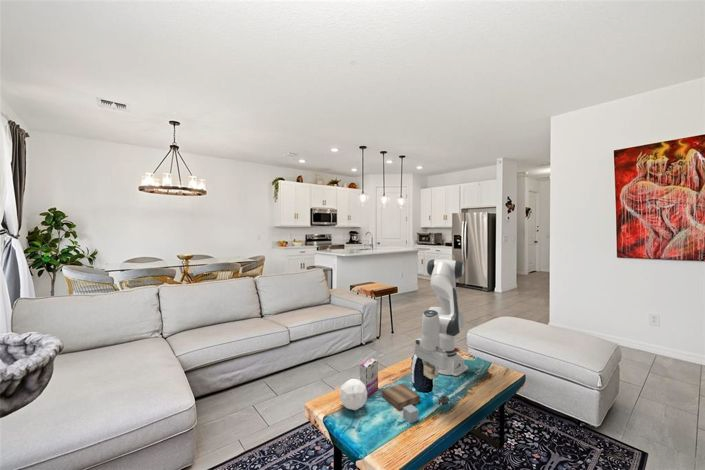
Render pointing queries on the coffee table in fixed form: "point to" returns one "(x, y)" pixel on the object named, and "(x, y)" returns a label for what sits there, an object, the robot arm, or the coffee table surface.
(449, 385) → the coffee table surface
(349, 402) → the geodesic sphere
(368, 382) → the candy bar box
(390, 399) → the walnut base block
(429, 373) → the maple cube
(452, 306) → the robot arm
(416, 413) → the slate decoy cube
